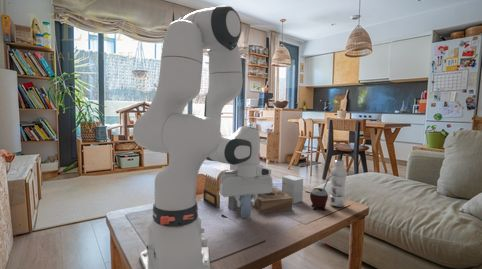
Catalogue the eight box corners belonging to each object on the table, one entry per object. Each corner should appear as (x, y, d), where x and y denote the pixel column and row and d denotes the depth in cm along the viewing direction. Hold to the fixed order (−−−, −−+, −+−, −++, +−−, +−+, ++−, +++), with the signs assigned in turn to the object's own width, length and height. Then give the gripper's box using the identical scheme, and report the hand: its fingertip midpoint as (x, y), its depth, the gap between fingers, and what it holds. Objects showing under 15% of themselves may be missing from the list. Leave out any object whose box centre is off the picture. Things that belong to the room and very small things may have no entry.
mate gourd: (306, 207, 111) (308, 172, 109) (316, 203, 116) (318, 170, 115) (321, 213, 105) (324, 176, 104) (332, 208, 110) (334, 173, 109)
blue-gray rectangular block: (251, 217, 99) (252, 191, 98) (242, 218, 97) (243, 192, 96) (248, 214, 102) (249, 188, 101) (239, 215, 101) (240, 189, 100)
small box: (302, 201, 118) (303, 178, 117) (293, 203, 115) (294, 180, 114) (289, 196, 125) (290, 174, 124) (281, 198, 121) (282, 176, 120)
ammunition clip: (219, 207, 109) (220, 178, 108) (216, 208, 108) (216, 179, 107) (206, 199, 117) (207, 173, 116) (203, 200, 116) (203, 173, 115)
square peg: (242, 209, 107) (242, 185, 106) (233, 210, 105) (233, 186, 104) (237, 205, 111) (237, 182, 110) (228, 207, 109) (228, 183, 108)
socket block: (292, 209, 108) (292, 197, 108) (261, 213, 103) (261, 201, 103) (275, 198, 121) (276, 187, 121) (247, 201, 116) (248, 190, 116)
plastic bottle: (345, 209, 110) (348, 162, 108) (328, 207, 112) (330, 161, 110) (344, 204, 116) (347, 159, 114) (328, 202, 118) (331, 158, 116)
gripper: (222, 173, 91) (221, 211, 93) (275, 170, 99) (273, 206, 100) (217, 169, 97) (217, 205, 99) (267, 166, 104) (266, 200, 106)
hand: (245, 205), depth 99 cm, fingers closed on blue-gray rectangular block, 4 cm apart
